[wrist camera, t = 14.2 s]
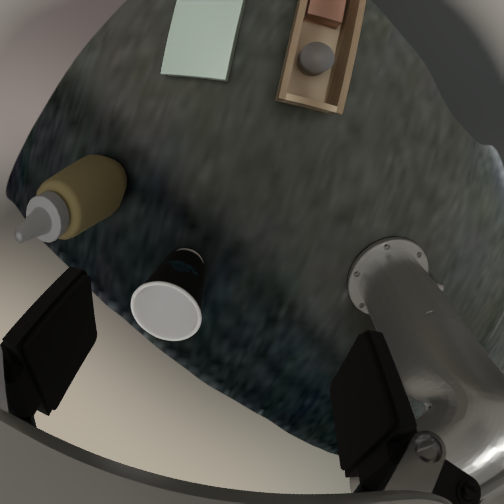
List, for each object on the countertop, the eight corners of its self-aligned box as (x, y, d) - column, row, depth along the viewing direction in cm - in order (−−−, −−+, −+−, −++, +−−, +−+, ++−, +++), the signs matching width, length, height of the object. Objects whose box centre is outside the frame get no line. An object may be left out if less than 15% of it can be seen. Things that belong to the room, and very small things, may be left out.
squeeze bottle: (140, 206, 37) (65, 279, 21) (89, 210, 38) (7, 277, 22) (130, 144, 33) (38, 182, 17) (79, 154, 34) (-18, 197, 18)
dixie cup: (204, 230, 38) (184, 275, 29) (223, 282, 42) (211, 336, 32) (150, 244, 40) (118, 289, 30) (171, 292, 43) (149, 344, 33)
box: (352, -19, 23) (373, -45, 16) (325, 112, 31) (342, 114, 24) (305, -33, 23) (314, -62, 15) (275, 100, 31) (278, 98, 24)
